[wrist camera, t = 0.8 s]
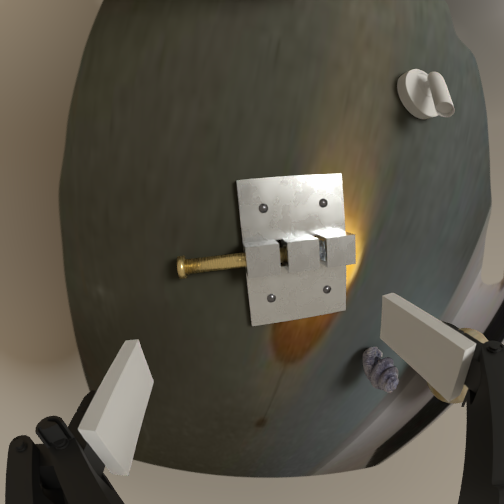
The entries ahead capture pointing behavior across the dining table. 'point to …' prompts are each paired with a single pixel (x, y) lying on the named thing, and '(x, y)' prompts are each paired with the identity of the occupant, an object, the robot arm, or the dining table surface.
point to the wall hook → (425, 94)
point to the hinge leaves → (294, 246)
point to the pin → (216, 263)
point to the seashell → (380, 370)
